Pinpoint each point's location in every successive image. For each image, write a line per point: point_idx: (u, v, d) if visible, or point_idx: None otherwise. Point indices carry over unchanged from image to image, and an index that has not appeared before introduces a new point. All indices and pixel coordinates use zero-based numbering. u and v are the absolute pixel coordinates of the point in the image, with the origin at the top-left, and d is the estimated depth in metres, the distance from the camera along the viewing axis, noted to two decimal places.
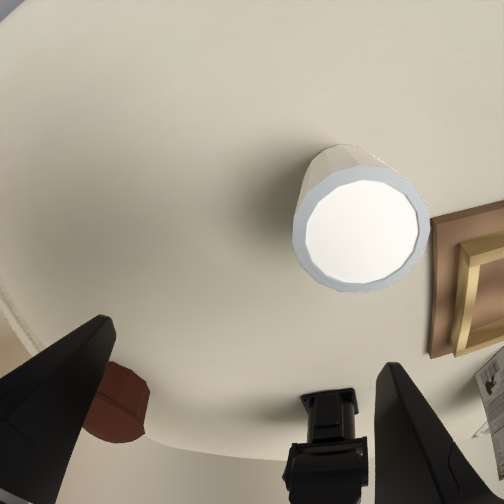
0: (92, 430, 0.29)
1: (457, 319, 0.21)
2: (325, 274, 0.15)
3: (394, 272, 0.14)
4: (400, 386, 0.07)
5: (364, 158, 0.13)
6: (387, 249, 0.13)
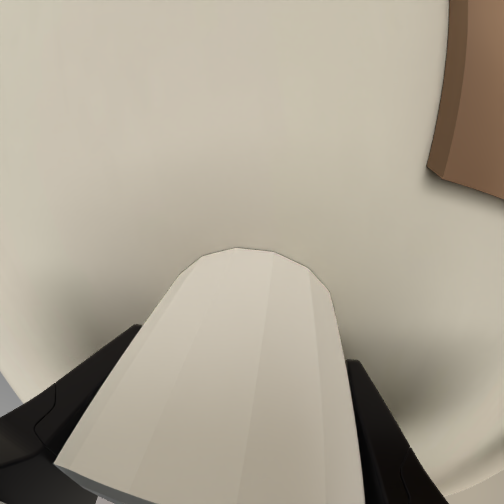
0: None
1: None
2: None
3: None
4: (356, 385, 0.07)
5: None
6: None
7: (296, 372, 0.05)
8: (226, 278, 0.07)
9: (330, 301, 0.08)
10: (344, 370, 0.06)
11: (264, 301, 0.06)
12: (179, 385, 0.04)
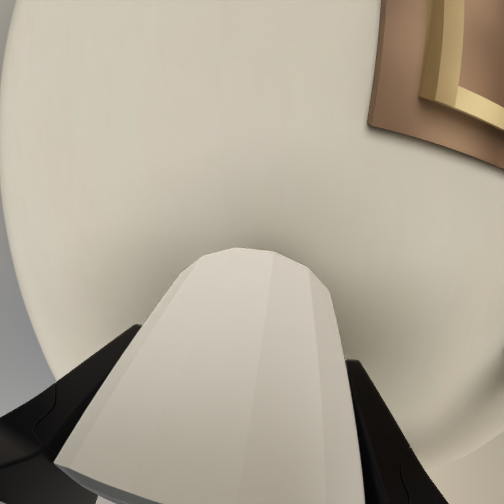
0: None
1: None
2: None
3: None
4: (356, 385, 0.07)
5: None
6: None
7: (296, 371, 0.05)
8: (226, 277, 0.07)
9: (330, 300, 0.08)
10: (344, 369, 0.06)
11: (264, 301, 0.06)
12: (179, 384, 0.04)
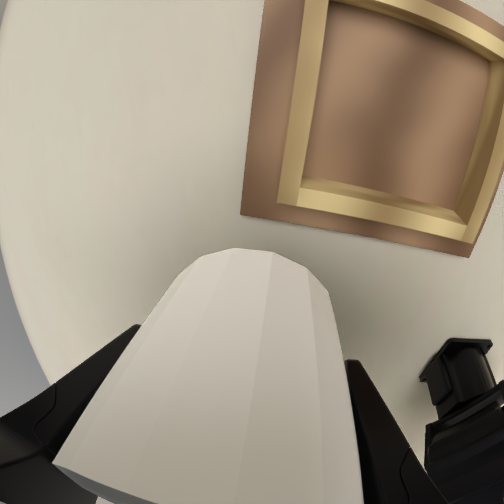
0: None
1: None
2: None
3: None
4: (356, 385, 0.07)
5: None
6: None
7: (294, 372, 0.05)
8: (225, 278, 0.07)
9: (329, 301, 0.08)
10: (342, 370, 0.06)
11: (262, 302, 0.06)
12: (177, 385, 0.04)
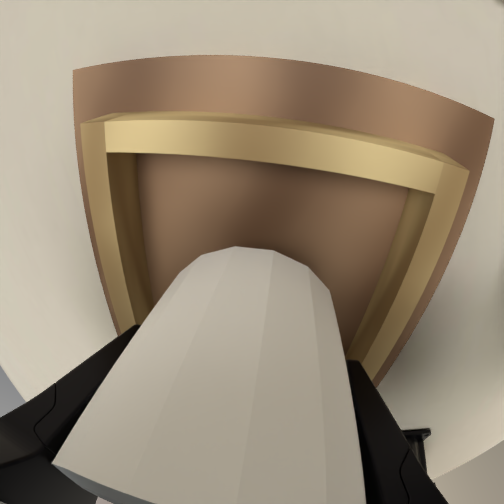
0: None
1: None
2: None
3: None
4: (356, 385, 0.07)
5: None
6: None
7: (296, 371, 0.05)
8: (226, 277, 0.07)
9: (330, 300, 0.08)
10: (344, 369, 0.06)
11: (264, 300, 0.06)
12: (178, 384, 0.04)
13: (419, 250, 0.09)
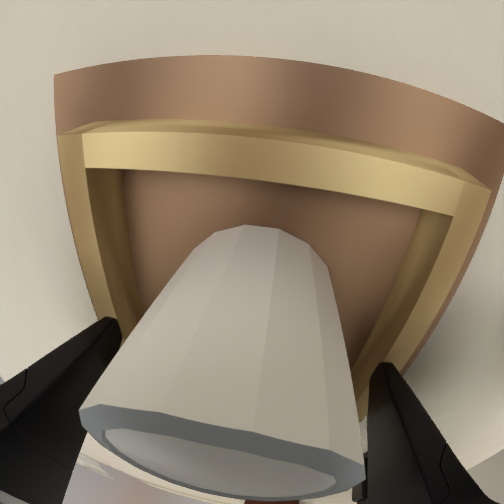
0: None
1: None
2: (269, 499, 0.07)
3: (335, 478, 0.05)
4: (392, 386, 0.07)
5: None
6: (265, 473, 0.05)
7: (300, 320, 0.06)
8: (238, 247, 0.08)
9: (328, 273, 0.10)
10: (340, 328, 0.07)
11: (271, 265, 0.08)
12: (203, 325, 0.06)
13: (432, 277, 0.08)
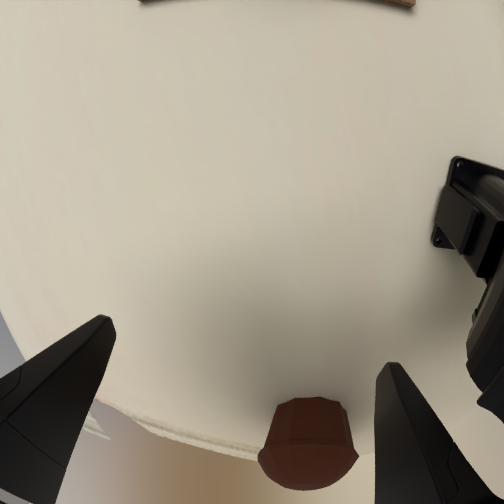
0: (293, 485, 0.24)
1: None
2: None
3: None
4: (400, 386, 0.07)
5: None
6: None
7: None
8: None
9: None
10: None
11: None
12: None
13: None
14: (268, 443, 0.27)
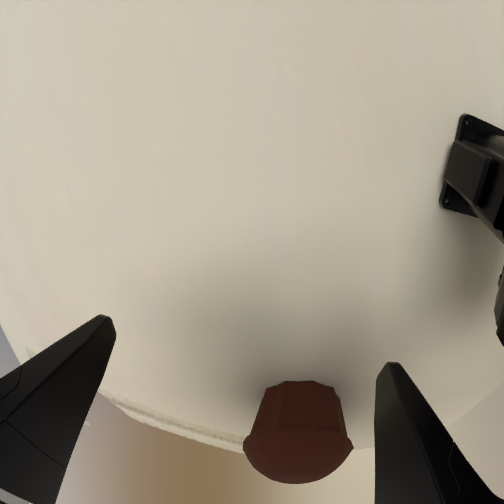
0: (281, 478, 0.22)
1: None
2: None
3: None
4: (400, 386, 0.07)
5: None
6: None
7: None
8: None
9: None
10: None
11: None
12: None
13: None
14: (255, 429, 0.25)
